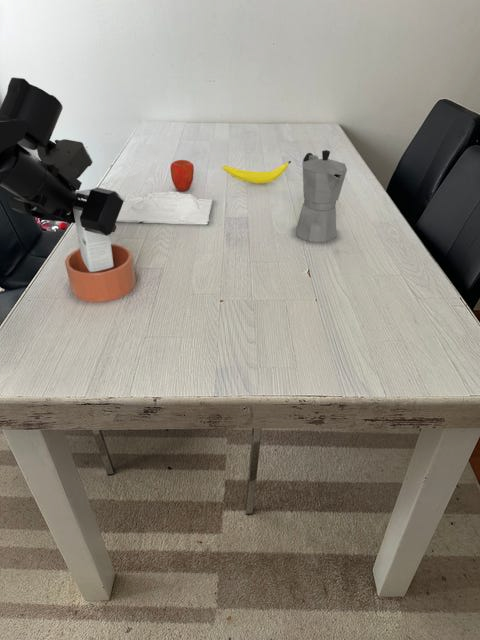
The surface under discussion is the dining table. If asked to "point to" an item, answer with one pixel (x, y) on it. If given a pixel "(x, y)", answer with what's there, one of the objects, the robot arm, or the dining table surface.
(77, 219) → the cosmetic box
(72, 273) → the crock
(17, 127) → the robot arm
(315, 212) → the coffeepot
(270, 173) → the banana
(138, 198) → the terrain model
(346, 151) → the dining table surface
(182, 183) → the red rounded piece
